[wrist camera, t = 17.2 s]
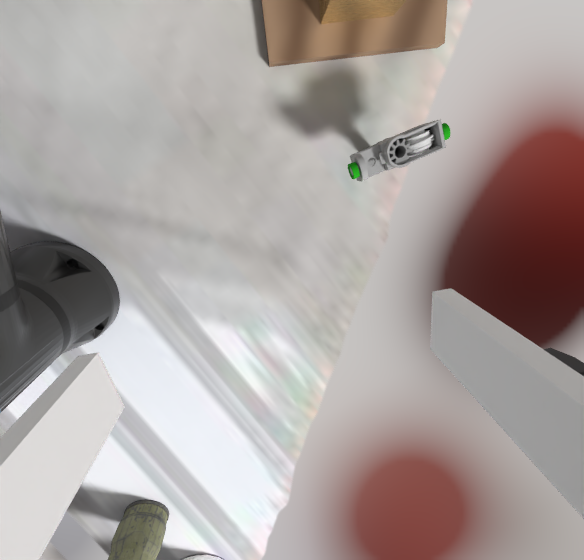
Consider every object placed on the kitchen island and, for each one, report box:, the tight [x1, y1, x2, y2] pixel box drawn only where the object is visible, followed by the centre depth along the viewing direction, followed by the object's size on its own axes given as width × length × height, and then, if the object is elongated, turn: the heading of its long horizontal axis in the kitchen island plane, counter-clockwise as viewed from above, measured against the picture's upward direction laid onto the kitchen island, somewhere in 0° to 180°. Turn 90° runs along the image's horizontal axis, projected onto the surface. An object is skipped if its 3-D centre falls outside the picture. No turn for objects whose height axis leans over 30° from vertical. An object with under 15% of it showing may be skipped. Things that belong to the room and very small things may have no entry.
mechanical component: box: [348, 120, 450, 181], centre depth 34 cm, size 3×10×10 cm, turn 112°
